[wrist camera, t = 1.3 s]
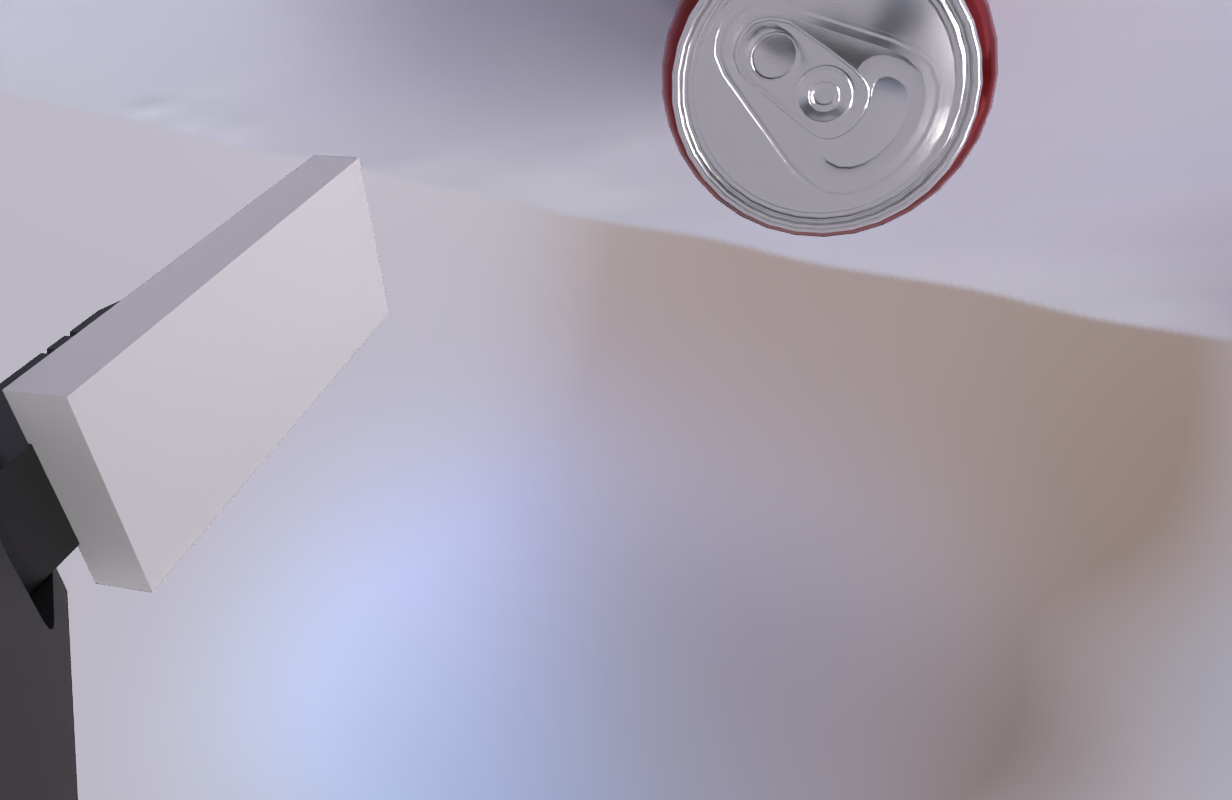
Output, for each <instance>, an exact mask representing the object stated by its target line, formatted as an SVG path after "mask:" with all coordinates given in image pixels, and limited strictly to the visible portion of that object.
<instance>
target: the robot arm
mask: <svg viewBox="0 0 1232 800" xmlns="http://www.w3.org/2000/svg"><path fill="white" fill-rule="evenodd" d="M388 314H389V308H388V303H387V298H386V293H385V288H384V283H383V277H382V272H381V267H380V262H379V257H378V252H377V247H376V242H375V236H374V231H373V226H372V222H371V216H370V212H369V206H368V201H367V196H366V191H365V186H364V180H363V175H362V170H361V165H360V160H359V158H357V157H337V156H318V155H314V156H313V157H311V158H310V159H309V160H307V161H306V162H305V163H303V164H302V165H301V166H299V167H298V168H297V169H295V170H294V171H293V172H291V173H290V174H289V175H287V176H286V177H285V178H283V179H282V180H281V181H279V182H278V183H277V184H275V185H274V186H273V187H271V188H270V189H269V190H267V191H266V192H265V193H263V194H262V195H261V196H260V197H258V198H257V199H255V200H254V201H253V202H251V203H250V204H249V205H247V206H246V207H245V208H243V209H242V210H241V211H239V212H238V213H237V214H235V215H234V216H233V217H231V218H230V219H229V220H228V221H226V222H225V223H223V224H222V225H221V226H219V227H218V228H217V229H215V230H214V231H213V232H211V233H210V234H209V235H208V236H206V237H205V238H203V239H202V240H201V241H200V242H198V243H197V244H196V245H194V246H193V247H192V248H190V249H189V250H188V251H186V252H185V253H184V254H182V255H181V256H180V257H178V258H177V259H176V260H174V261H173V262H172V263H170V264H169V265H168V266H166V267H165V268H164V269H162V270H161V271H160V272H158V273H157V274H156V275H154V276H153V277H152V278H150V279H149V280H148V281H146V282H145V283H144V284H142V285H141V286H140V287H138V288H137V289H136V290H134V291H133V292H132V293H131V294H129V295H128V296H126V297H125V298H124V299H122V300H121V301H118V302H116V303H114V304H112V305H110V306H107V307H105V308H103V309H101V310H99V311H97V312H96V313H95V314H93V315H92V316H91V317H89V318H88V319H86V320H85V321H84V322H82V323H81V324H80V325H78V326H77V327H76V328H75V329H73V330H72V331H70V336H64V337H62V338H61V339H60V340H58V341H57V342H56V343H54V344H53V345H51V346H50V347H49V348H48V349H47V354H44V353H41V354H39V355H38V356H37V357H35V358H34V359H33V360H31V361H30V362H29V363H27V364H26V365H25V366H23V367H22V368H21V369H19V370H18V371H16V372H15V373H14V374H12V375H11V376H10V377H8V378H7V379H6V380H4V381H3V382H2V383H0V800H78V794H77V775H76V755H75V735H74V717H73V696H72V678H71V657H70V638H69V618H68V598H67V590H66V588H65V585H64V583H63V581H62V579H61V577H60V575H59V573H58V571H57V569H56V567H57V566H58V565H59V564H60V563H61V562H62V561H63V560H64V559H65V558H66V557H67V556H68V555H69V554H70V553H71V552H72V551H73V550H74V549H75V548H76V547H77V546H78V547H79V549H80V552H81V553H82V556H83V558H84V560H85V562H86V564H87V566H88V568H89V570H90V572H91V574H92V576H93V578H94V580H95V582H96V584H102V585H108V586H115V587H121V588H127V589H133V590H139V591H145V592H154V591H155V589H156V588H157V587H158V586H159V585H160V584H161V582H162V581H163V580H164V579H165V578H166V576H167V575H168V574H169V573H170V572H171V571H172V569H173V568H174V567H175V566H176V564H177V563H178V562H179V561H180V560H181V559H182V557H183V556H184V555H185V554H186V553H187V552H188V550H189V549H190V548H191V547H192V546H193V545H194V543H195V542H196V541H197V540H198V539H199V537H200V536H201V535H202V534H203V533H204V532H205V530H206V529H207V528H208V527H209V526H210V525H211V523H212V522H213V521H214V520H215V518H216V517H217V516H218V515H219V514H220V513H221V511H222V510H223V509H224V508H225V507H226V505H227V504H228V503H229V502H230V501H231V500H232V498H233V497H234V496H235V495H236V494H237V493H238V491H239V490H240V489H241V488H242V487H243V485H244V484H245V483H246V482H247V481H248V480H249V478H250V477H251V476H252V475H253V474H254V473H255V471H256V470H257V469H258V468H259V467H260V465H261V464H262V463H263V462H264V461H265V460H266V458H267V457H268V456H269V455H270V454H271V452H272V451H273V450H274V449H275V447H277V445H278V444H279V443H280V442H281V441H282V439H283V438H284V437H285V436H286V435H287V434H288V432H289V431H290V430H291V429H292V428H293V426H294V425H295V424H296V423H297V422H298V420H299V419H300V418H301V417H302V415H303V414H304V413H305V412H306V411H307V410H308V409H309V408H310V406H311V405H312V404H313V403H314V402H315V400H316V399H317V398H318V397H319V396H320V394H321V393H322V392H323V391H324V390H325V389H326V387H327V386H328V385H329V384H330V383H331V382H332V380H333V379H334V378H335V377H336V376H337V374H338V373H339V372H340V371H341V370H342V369H343V367H344V366H345V365H346V364H347V363H348V362H349V360H350V359H351V358H352V357H353V355H354V354H355V353H356V352H357V351H358V350H359V349H360V347H361V346H362V345H363V344H364V342H365V341H366V340H367V339H368V338H369V336H370V335H371V334H372V333H373V332H374V331H375V330H376V328H377V327H378V326H379V325H380V324H381V323H382V321H383V320H384V319H385V318H386V317H387V315H388Z"/></svg>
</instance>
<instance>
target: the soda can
mask: <svg viewBox="0 0 1232 800" xmlns="http://www.w3.org/2000/svg"><path fill="white" fill-rule="evenodd" d="M997 76H998V54H997V36H996V32H995V28H994V24H993V19H992V15H991V11H990V7H989V4H988V1H987V0H680V2H679V5H678V8H677V10H676V13H675V15H674V18H673V20H672V23H671V26H670V28H669V31H668V35H667V40H666V46H665V51H664V57H663V62H662V96H663V101H664V106H665V111H666V115H667V120H668V125H669V128H670V130H671V133H672V135H673V137H674V140H675V142H676V145H677V147H678V150H679V152H680V154H681V155H682V157H683V158H684V160H685V162H686V163H687V165H688V166H689V168H690V169H691V171H692V172H693V174H694V175H695V177H696V178H697V179H698V180H699V181H700V182H701V183H702V184H703V185H704V186H705V187H706V189H707V190H708V191H709V192H710V193H711V194H712V195H713V196H714V197H715V198H716V199H717V200H719V201H720V202H721V203H723V204H724V205H726V206H727V207H729V208H730V209H731V210H733V211H734V212H736V213H737V214H739V215H740V216H742V217H744V218H746V219H749V220H751V221H753V222H755V223H757V224H760V225H762V226H764V227H766V228H770V229H774V230H778V231H782V232H786V233H790V234H794V235H806V236H821V237H826V236H835V235H844V234H852V233H857V232H860V231H864V230H867V229H870V228H874V227H877V226H880V225H884V224H886V223H888V222H890V221H892V220H894V219H896V218H898V217H900V216H902V215H904V214H906V213H908V212H910V211H912V210H913V209H915V208H916V207H917V206H919V205H920V204H921V203H923V202H924V201H925V200H927V199H928V198H929V197H931V196H932V195H933V194H935V193H936V192H937V191H939V190H940V189H941V188H942V186H943V185H944V184H945V183H946V182H947V181H948V180H949V179H950V178H951V177H952V176H953V175H954V174H955V173H956V172H957V170H958V169H959V168H960V167H961V166H962V164H963V163H964V161H965V160H966V158H967V157H968V155H969V154H970V152H971V150H972V149H973V147H974V146H975V144H976V143H977V141H978V139H979V138H980V135H981V133H982V130H983V128H984V125H985V123H986V120H987V118H988V115H989V113H990V110H991V107H992V103H993V97H994V92H995V86H996V81H997Z"/></svg>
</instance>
